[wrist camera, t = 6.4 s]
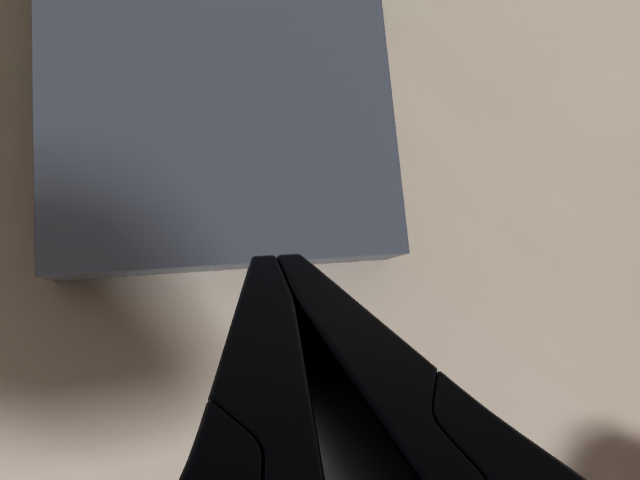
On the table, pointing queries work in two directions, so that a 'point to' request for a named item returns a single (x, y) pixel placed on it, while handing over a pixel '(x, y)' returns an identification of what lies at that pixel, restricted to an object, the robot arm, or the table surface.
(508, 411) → the table surface
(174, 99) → the tile
